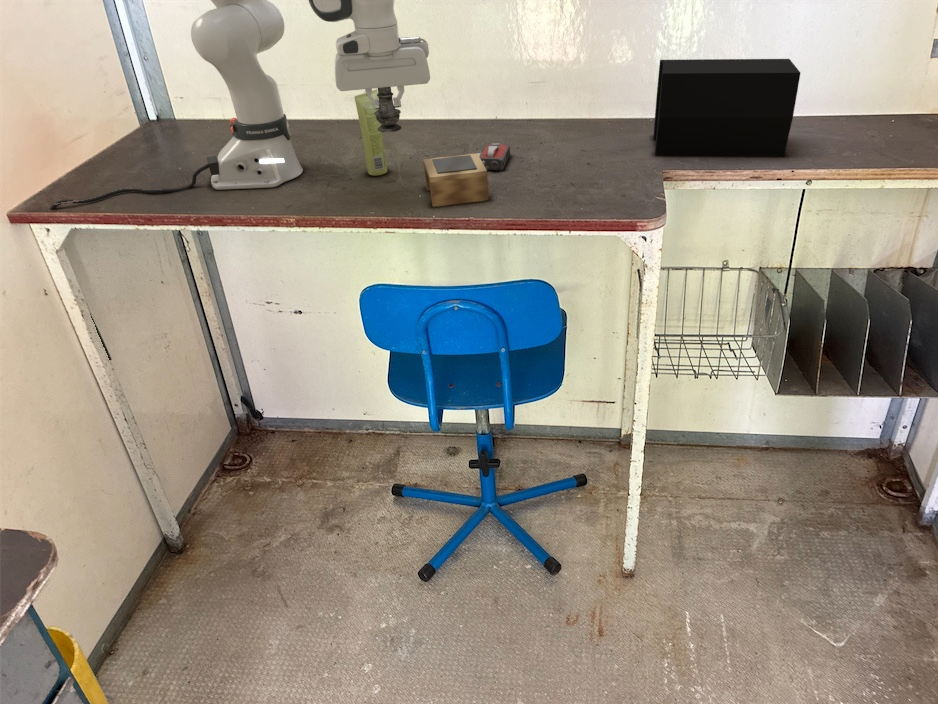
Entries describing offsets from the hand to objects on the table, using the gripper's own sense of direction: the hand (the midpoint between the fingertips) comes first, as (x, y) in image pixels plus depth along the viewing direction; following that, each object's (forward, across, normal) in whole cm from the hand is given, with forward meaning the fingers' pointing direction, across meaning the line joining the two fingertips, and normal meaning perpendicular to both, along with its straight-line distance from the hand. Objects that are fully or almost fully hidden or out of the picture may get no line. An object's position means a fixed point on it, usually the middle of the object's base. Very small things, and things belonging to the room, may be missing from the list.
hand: (387, 107), depth 157 cm
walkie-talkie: (+20, -24, -11) cm, 33 cm away
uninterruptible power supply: (+20, -85, -6) cm, 88 cm away
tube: (+20, +4, -16) cm, 26 cm away
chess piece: (+5, 0, 0) cm, 5 cm away
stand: (+20, -13, +4) cm, 24 cm away
